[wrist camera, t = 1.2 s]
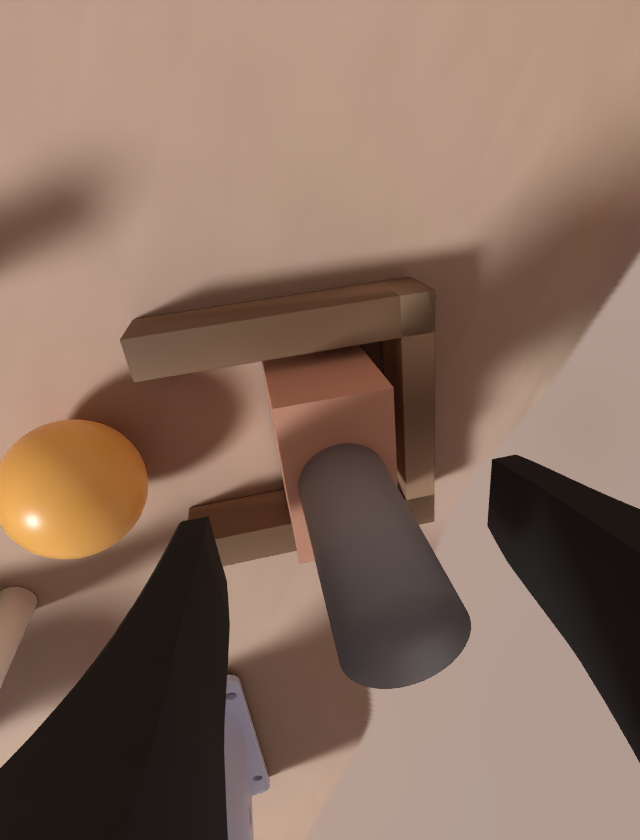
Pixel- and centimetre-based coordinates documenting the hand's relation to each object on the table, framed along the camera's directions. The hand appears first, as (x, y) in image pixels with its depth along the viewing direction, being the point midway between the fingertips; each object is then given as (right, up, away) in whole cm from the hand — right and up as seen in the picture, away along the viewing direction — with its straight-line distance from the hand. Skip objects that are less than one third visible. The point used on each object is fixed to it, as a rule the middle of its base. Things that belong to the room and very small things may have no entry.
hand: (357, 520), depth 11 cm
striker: (-1, +3, +5) cm, 6 cm away
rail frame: (-2, +2, +5) cm, 6 cm away
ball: (-8, 0, +3) cm, 8 cm away
